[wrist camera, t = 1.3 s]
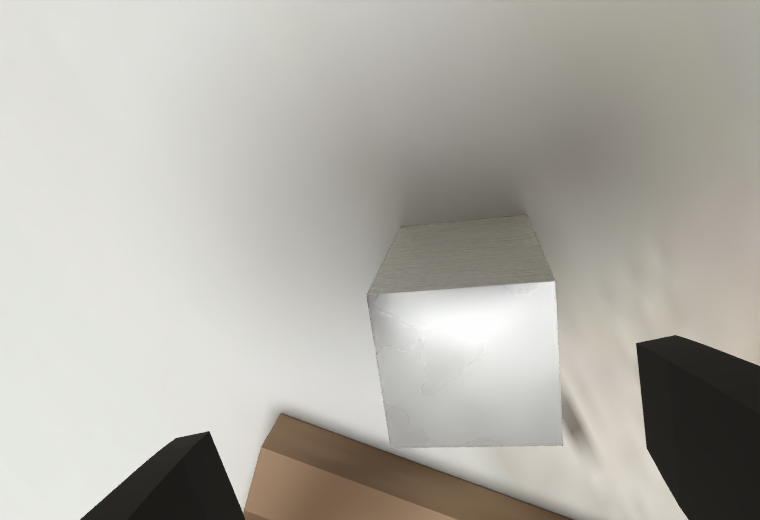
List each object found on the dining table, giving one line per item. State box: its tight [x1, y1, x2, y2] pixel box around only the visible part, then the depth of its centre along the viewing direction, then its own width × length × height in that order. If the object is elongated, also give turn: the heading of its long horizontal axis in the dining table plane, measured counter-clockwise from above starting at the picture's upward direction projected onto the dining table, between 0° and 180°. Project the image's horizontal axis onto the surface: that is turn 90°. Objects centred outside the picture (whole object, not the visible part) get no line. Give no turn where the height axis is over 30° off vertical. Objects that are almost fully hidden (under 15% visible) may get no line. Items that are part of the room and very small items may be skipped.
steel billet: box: [367, 215, 563, 448], centre depth 15 cm, size 4×4×6 cm
